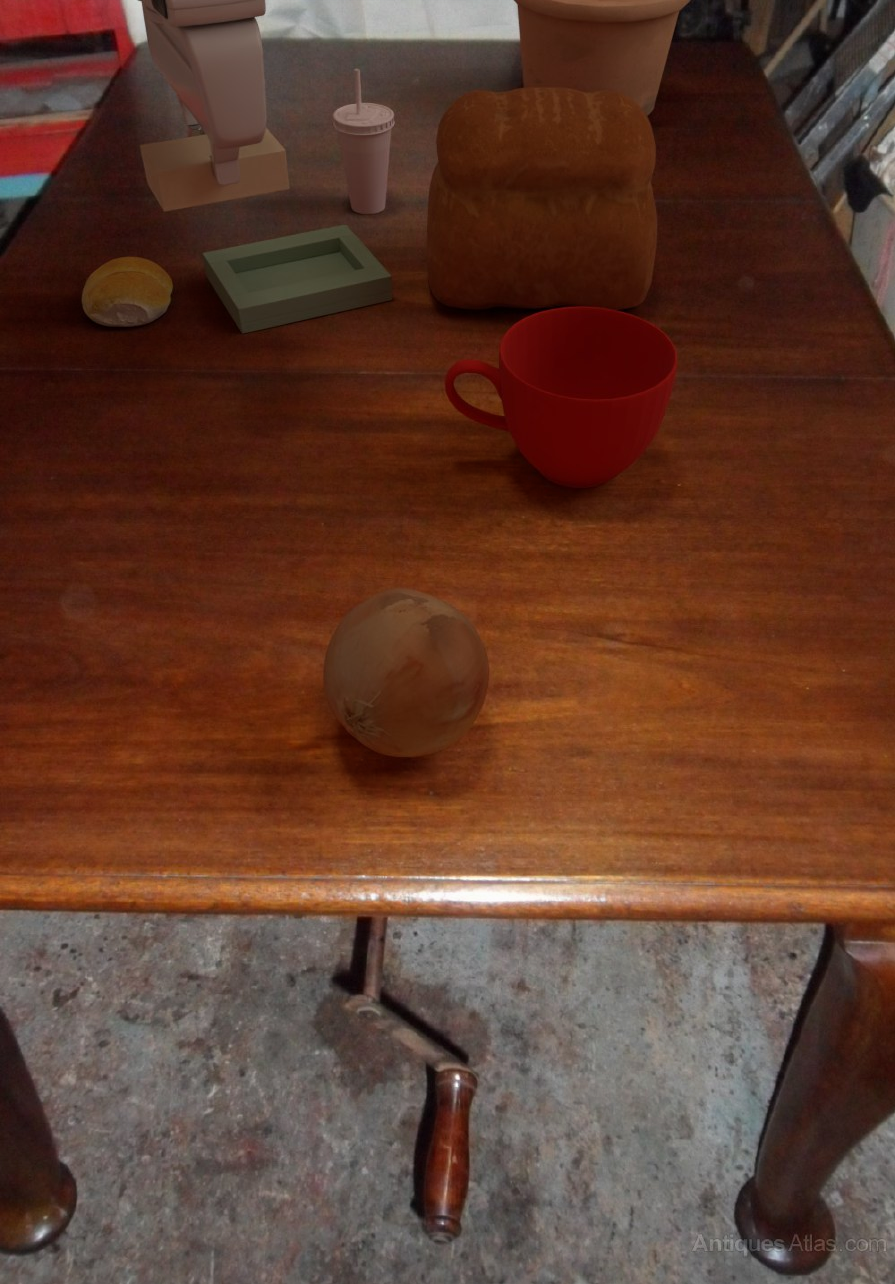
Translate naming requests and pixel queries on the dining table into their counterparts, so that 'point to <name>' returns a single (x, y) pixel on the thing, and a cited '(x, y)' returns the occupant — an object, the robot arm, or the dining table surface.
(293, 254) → the base pad
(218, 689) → the dining table surface
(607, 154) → the bread
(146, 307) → the bread roll
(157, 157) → the cream pad
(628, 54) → the pottery
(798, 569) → the dining table surface
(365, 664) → the mottled brown ball
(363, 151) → the smoothie
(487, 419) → the ceramic cup
